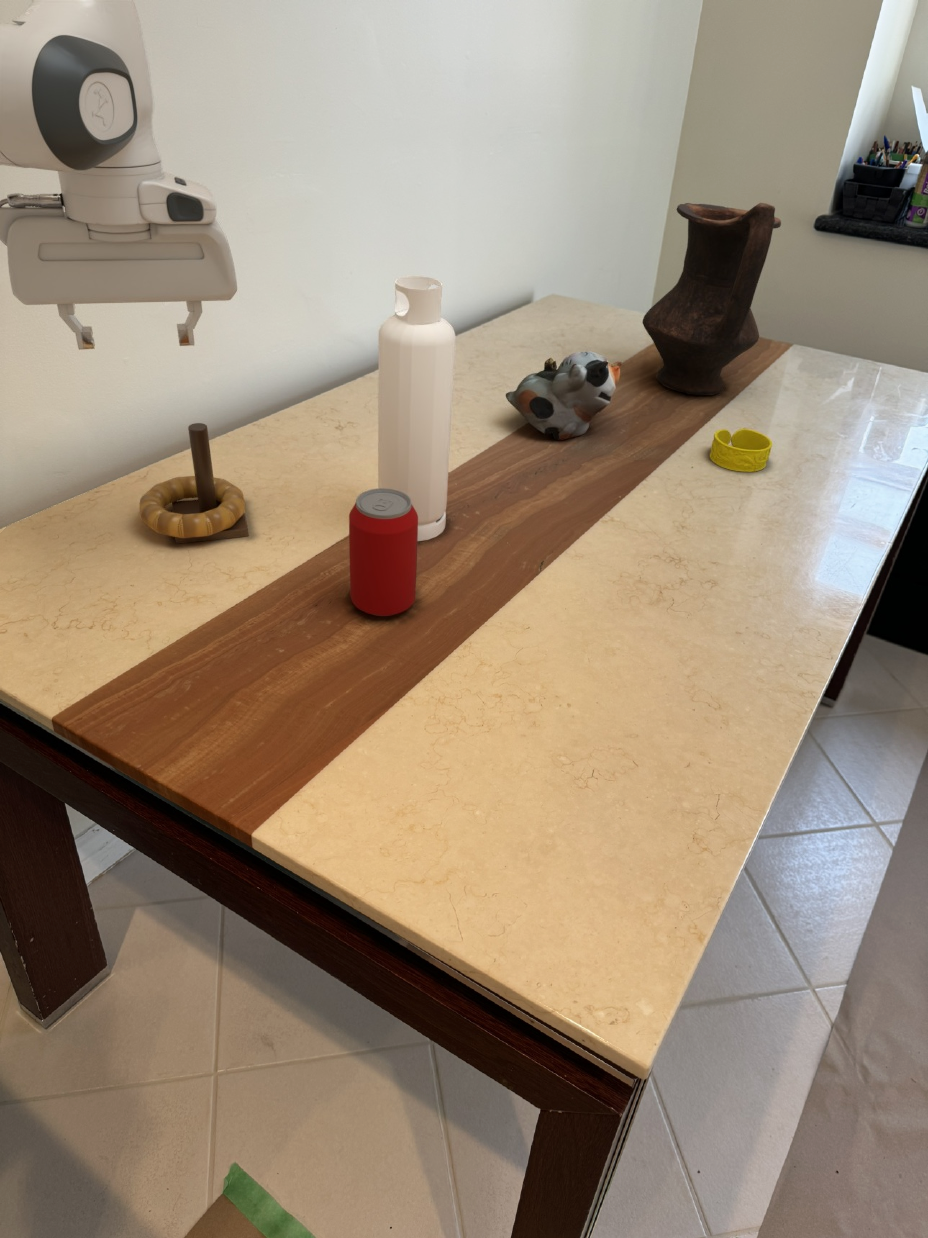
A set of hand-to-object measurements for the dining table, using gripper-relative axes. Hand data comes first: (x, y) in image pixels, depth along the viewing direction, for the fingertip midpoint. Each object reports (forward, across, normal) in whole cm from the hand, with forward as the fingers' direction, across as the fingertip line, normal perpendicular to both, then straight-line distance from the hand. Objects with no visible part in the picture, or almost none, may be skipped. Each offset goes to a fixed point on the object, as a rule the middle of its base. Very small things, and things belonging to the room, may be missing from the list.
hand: (137, 345), depth 87 cm
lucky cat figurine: (+21, +57, +20) cm, 64 cm away
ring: (+19, +3, +1) cm, 19 cm away
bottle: (+21, +28, -4) cm, 35 cm away
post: (+21, +5, +1) cm, 22 cm away
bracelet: (+21, +78, +3) cm, 81 cm away
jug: (+21, +85, +29) cm, 92 cm away
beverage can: (+22, +21, -19) cm, 35 cm away
